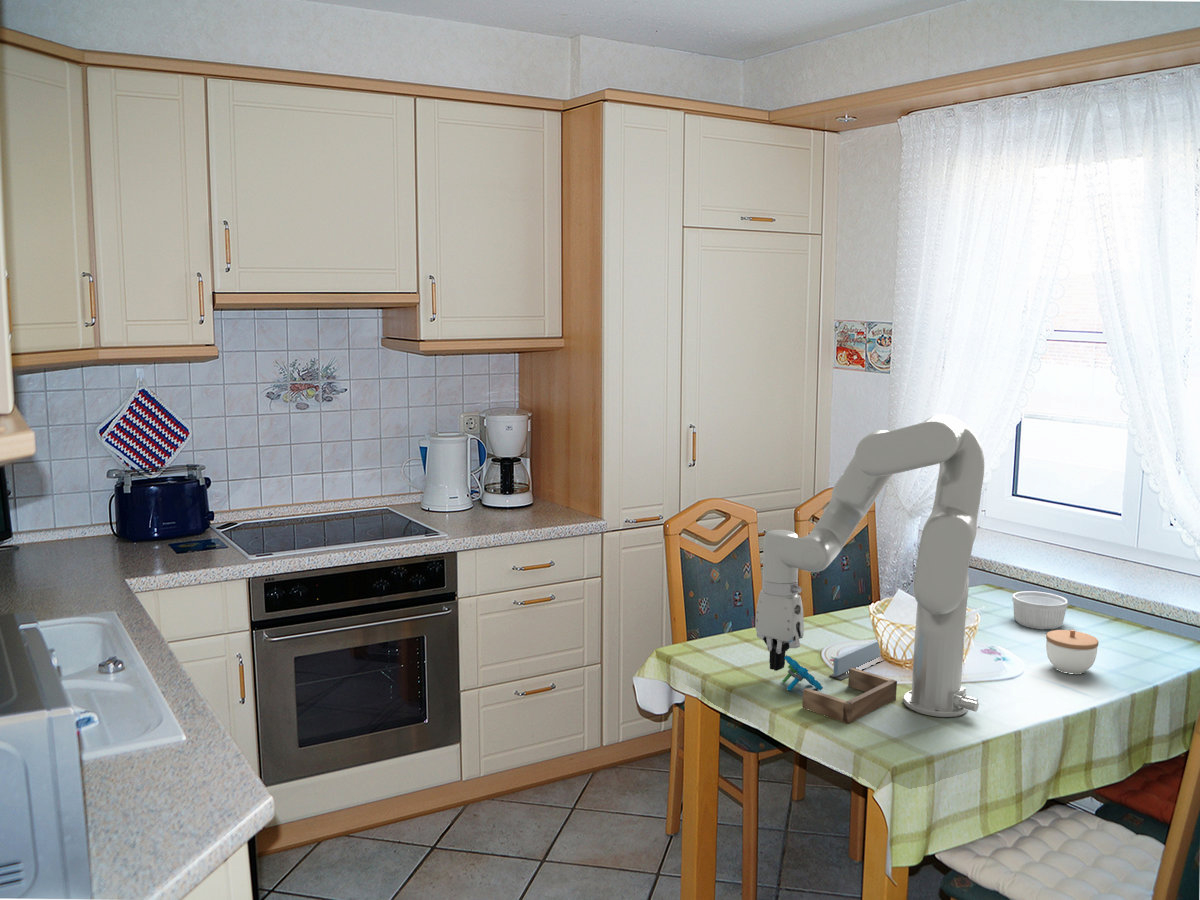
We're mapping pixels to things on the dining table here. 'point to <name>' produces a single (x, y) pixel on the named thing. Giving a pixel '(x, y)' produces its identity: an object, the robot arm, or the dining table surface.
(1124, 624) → the dining table surface
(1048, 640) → the lidded jar
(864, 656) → the gate
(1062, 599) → the ramekin
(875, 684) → the frame
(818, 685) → the blue toy model
